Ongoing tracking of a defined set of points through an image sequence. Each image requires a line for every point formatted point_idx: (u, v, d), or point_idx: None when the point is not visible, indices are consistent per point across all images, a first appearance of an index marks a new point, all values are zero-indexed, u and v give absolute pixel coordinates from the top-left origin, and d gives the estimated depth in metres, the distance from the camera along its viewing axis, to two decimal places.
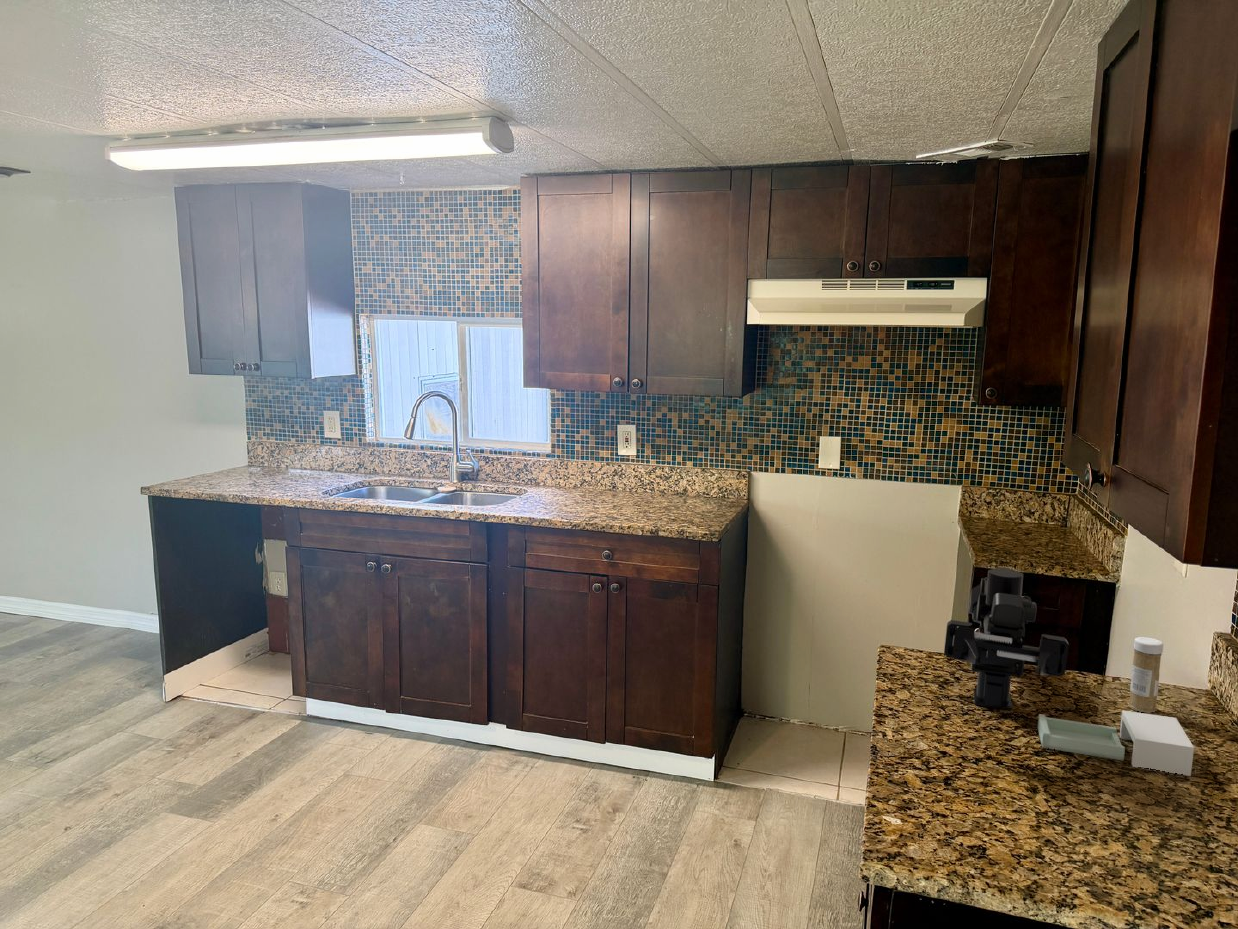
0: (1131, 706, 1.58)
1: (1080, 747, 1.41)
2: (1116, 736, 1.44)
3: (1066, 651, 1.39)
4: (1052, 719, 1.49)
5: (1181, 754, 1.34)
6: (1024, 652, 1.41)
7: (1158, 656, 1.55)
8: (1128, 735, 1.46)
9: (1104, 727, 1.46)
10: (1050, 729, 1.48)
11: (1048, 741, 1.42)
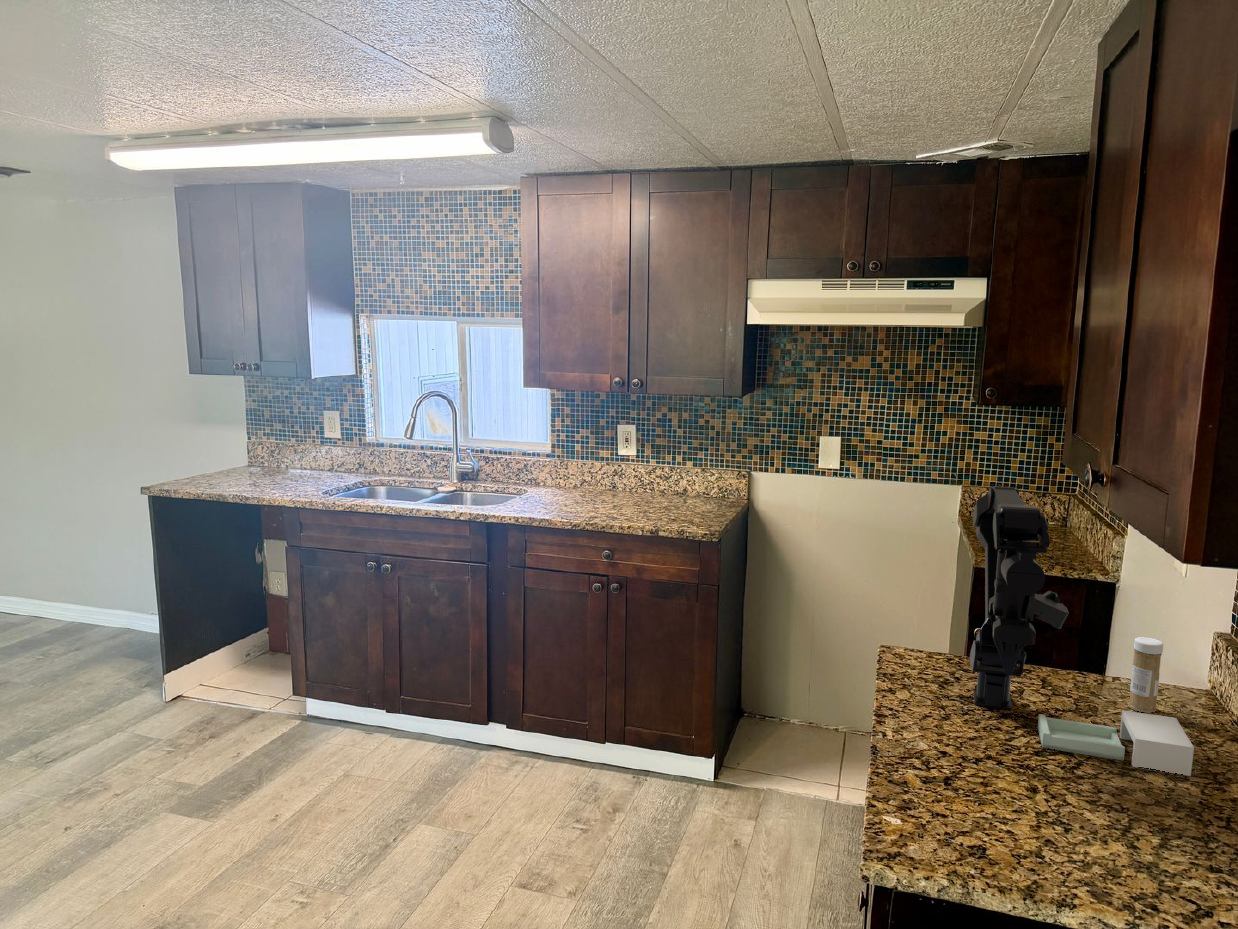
0: (1131, 706, 1.58)
1: (1080, 747, 1.41)
2: (1116, 736, 1.44)
3: None
4: (1052, 719, 1.49)
5: (1181, 754, 1.34)
6: None
7: (1158, 656, 1.55)
8: (1128, 735, 1.46)
9: (1104, 727, 1.46)
10: (1050, 729, 1.48)
11: (1048, 741, 1.42)
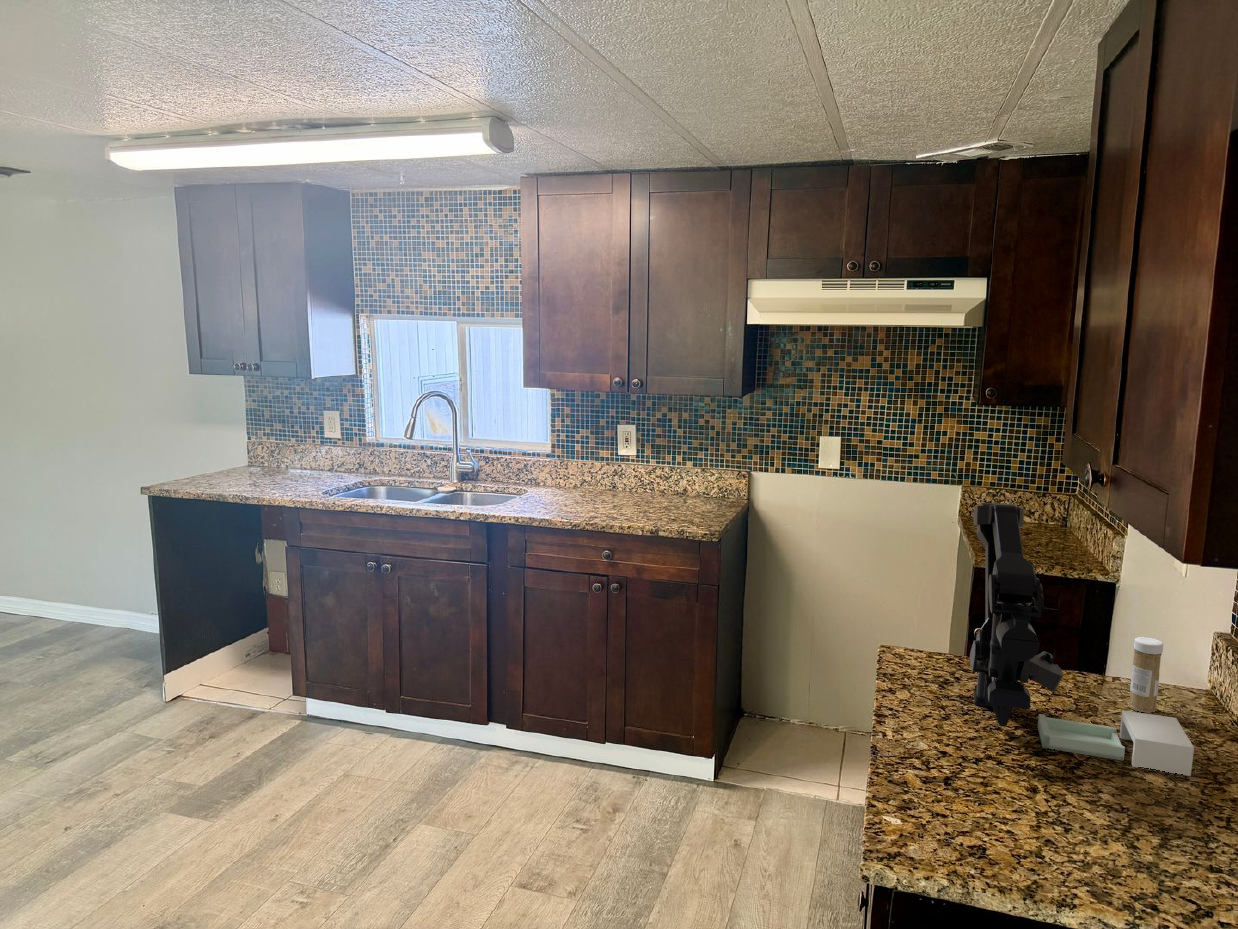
0: (1131, 706, 1.58)
1: (1080, 747, 1.41)
2: (1116, 736, 1.44)
3: None
4: (1052, 719, 1.49)
5: (1181, 754, 1.34)
6: None
7: (1158, 656, 1.55)
8: (1128, 735, 1.46)
9: (1104, 727, 1.46)
10: (1050, 729, 1.48)
11: (1048, 741, 1.42)
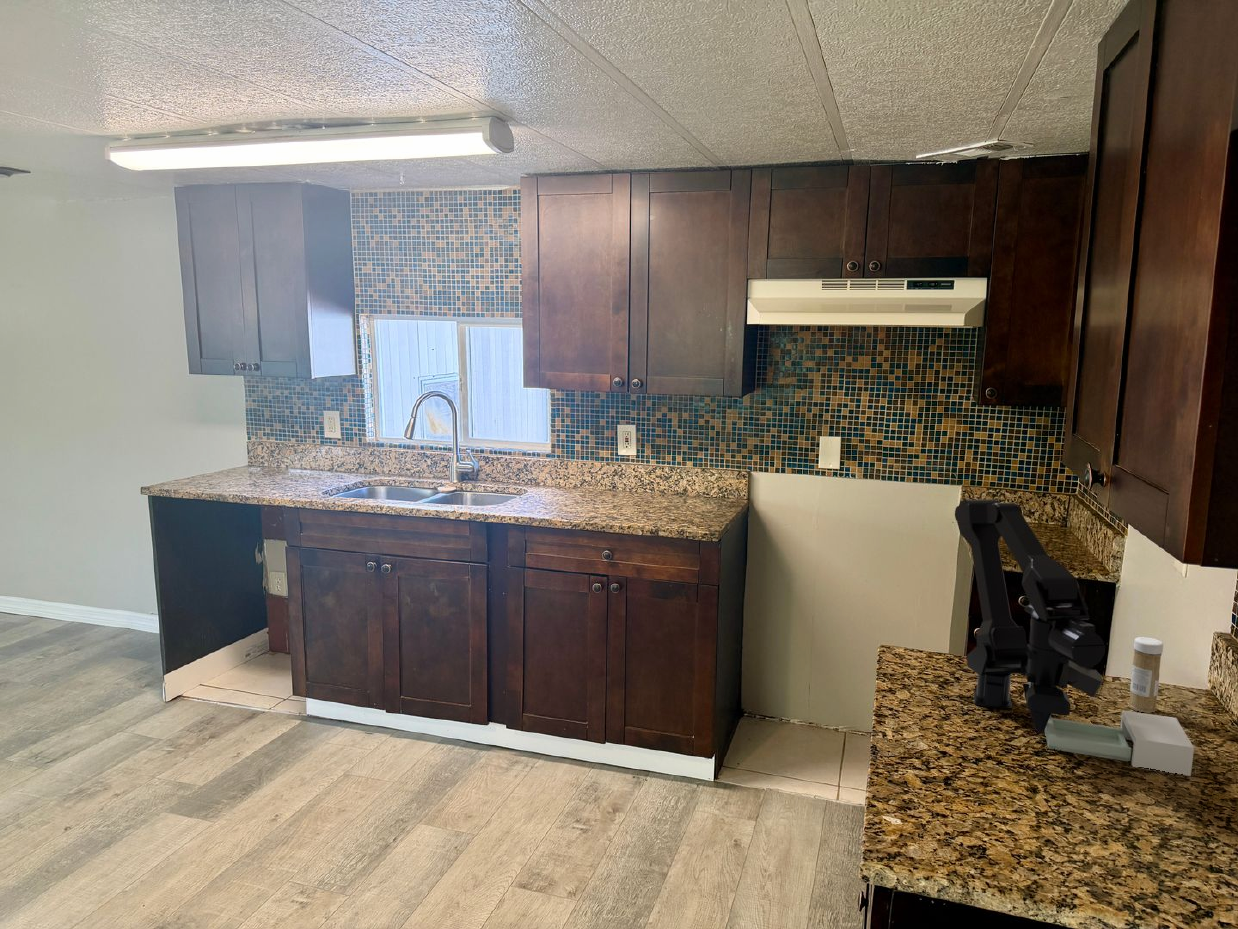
0: (1131, 706, 1.58)
1: (1086, 748, 1.40)
2: (1122, 737, 1.44)
3: None
4: (1058, 720, 1.48)
5: (1181, 754, 1.34)
6: None
7: (1158, 656, 1.55)
8: (1128, 735, 1.46)
9: (1110, 728, 1.46)
10: (1056, 730, 1.48)
11: (1054, 742, 1.42)
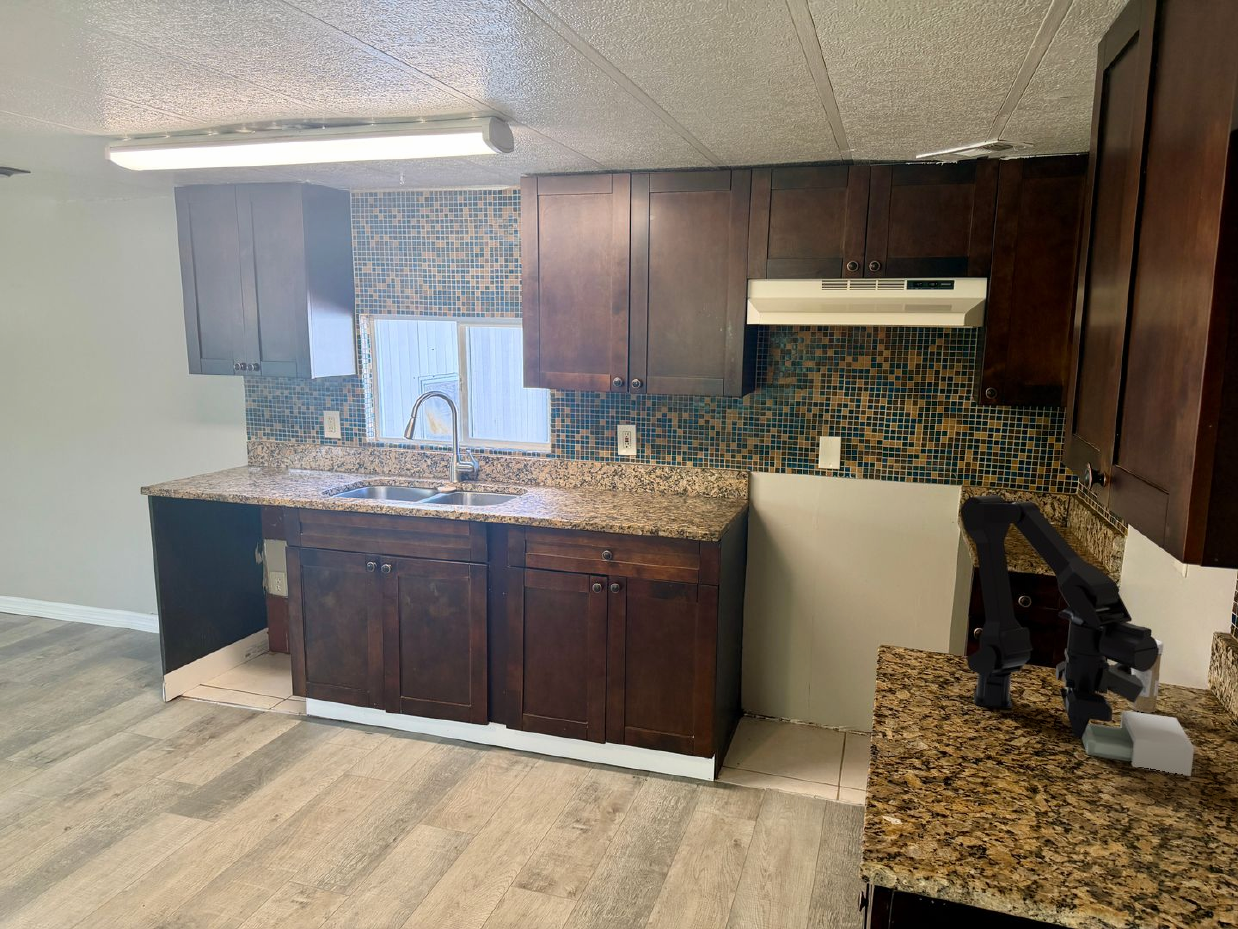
0: (1131, 706, 1.58)
1: (1126, 754, 1.39)
2: None
3: None
4: (1095, 725, 1.47)
5: (1181, 754, 1.34)
6: None
7: (1158, 656, 1.55)
8: None
9: None
10: (1093, 735, 1.46)
11: (1093, 748, 1.40)
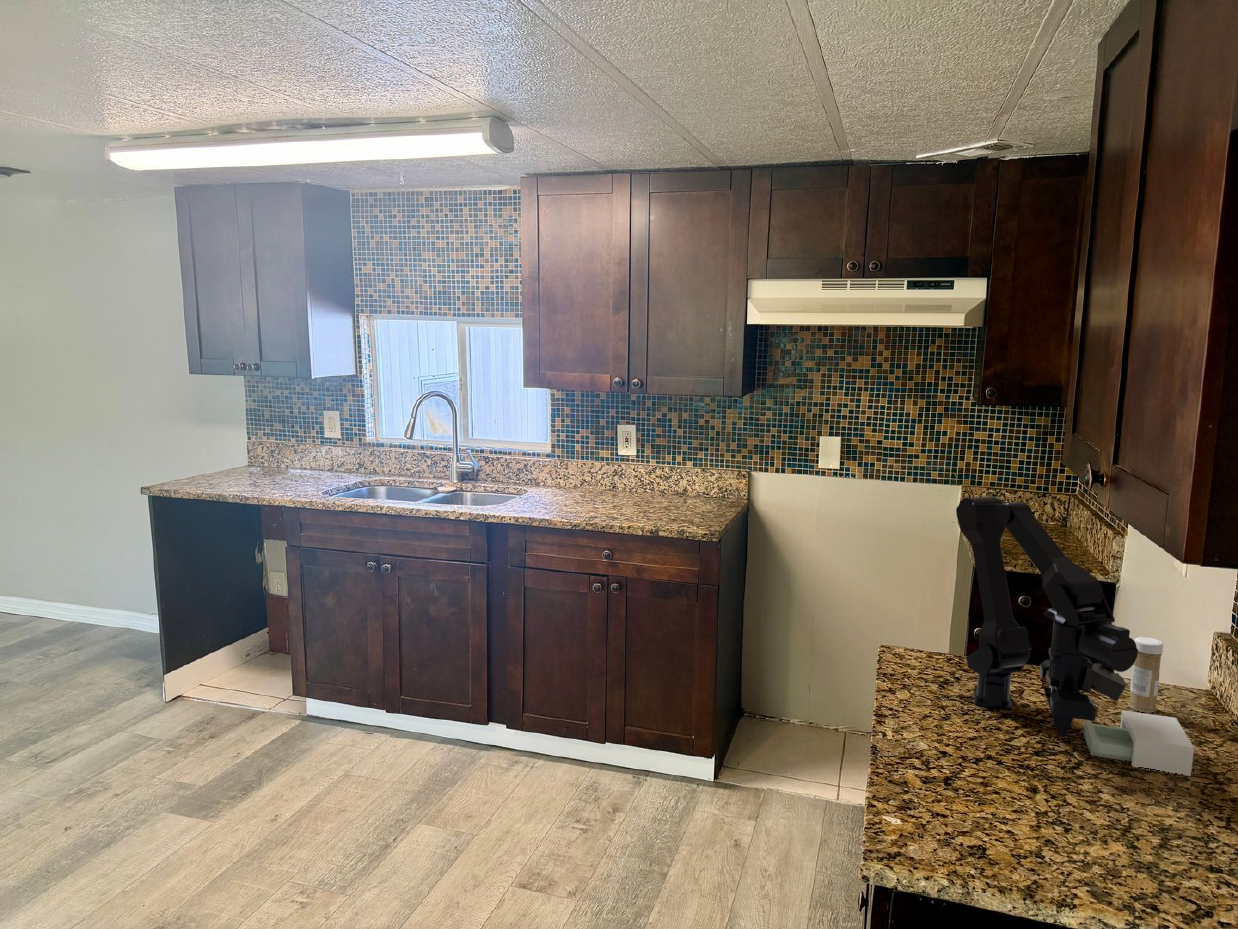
0: (1131, 706, 1.58)
1: (1130, 754, 1.38)
2: None
3: None
4: (1099, 726, 1.46)
5: (1181, 754, 1.34)
6: None
7: (1158, 656, 1.55)
8: None
9: None
10: (1097, 736, 1.46)
11: (1097, 748, 1.40)
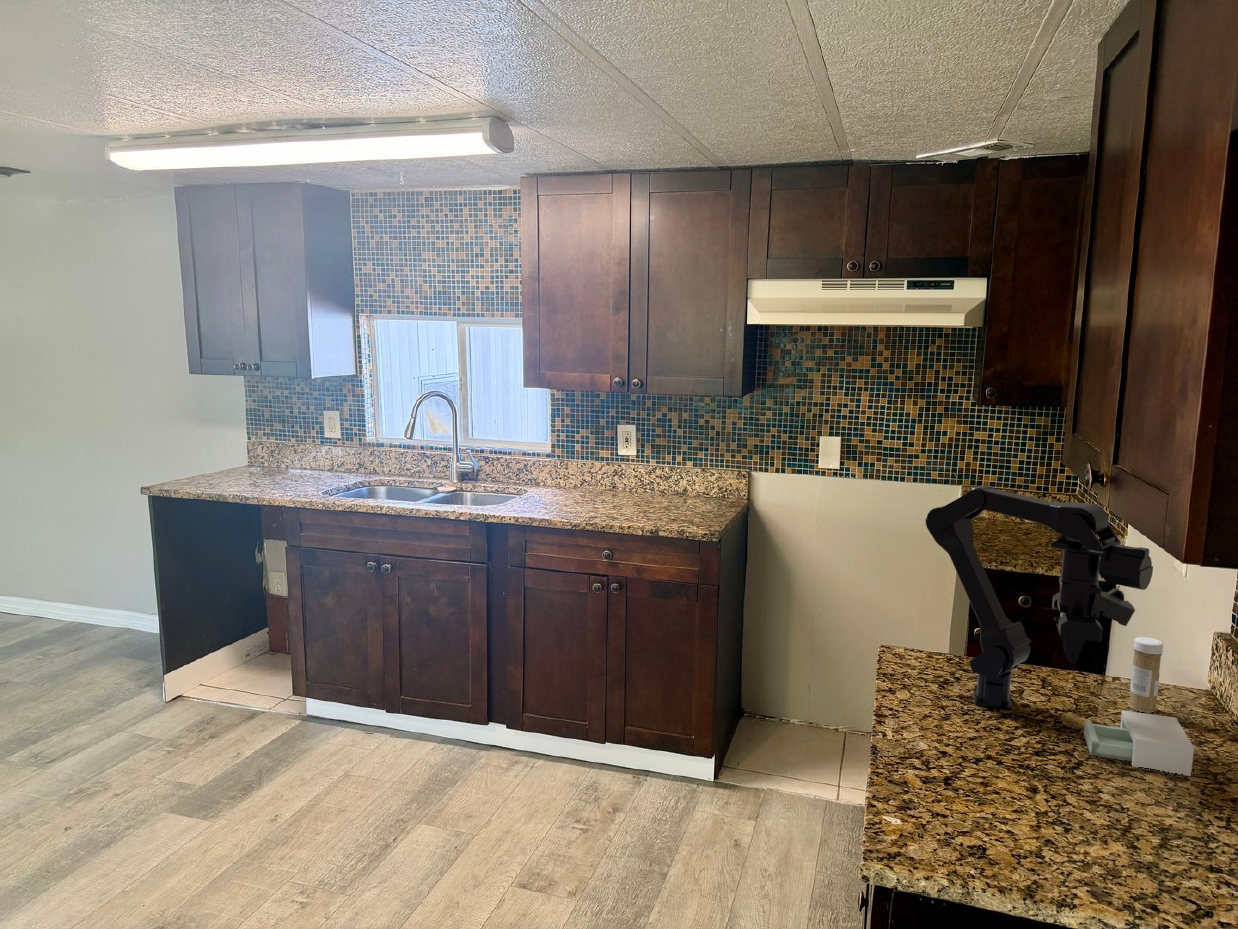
0: (1131, 706, 1.58)
1: (1130, 754, 1.38)
2: None
3: None
4: (1099, 726, 1.46)
5: (1181, 754, 1.34)
6: None
7: (1158, 656, 1.55)
8: None
9: None
10: (1097, 736, 1.46)
11: (1097, 748, 1.40)
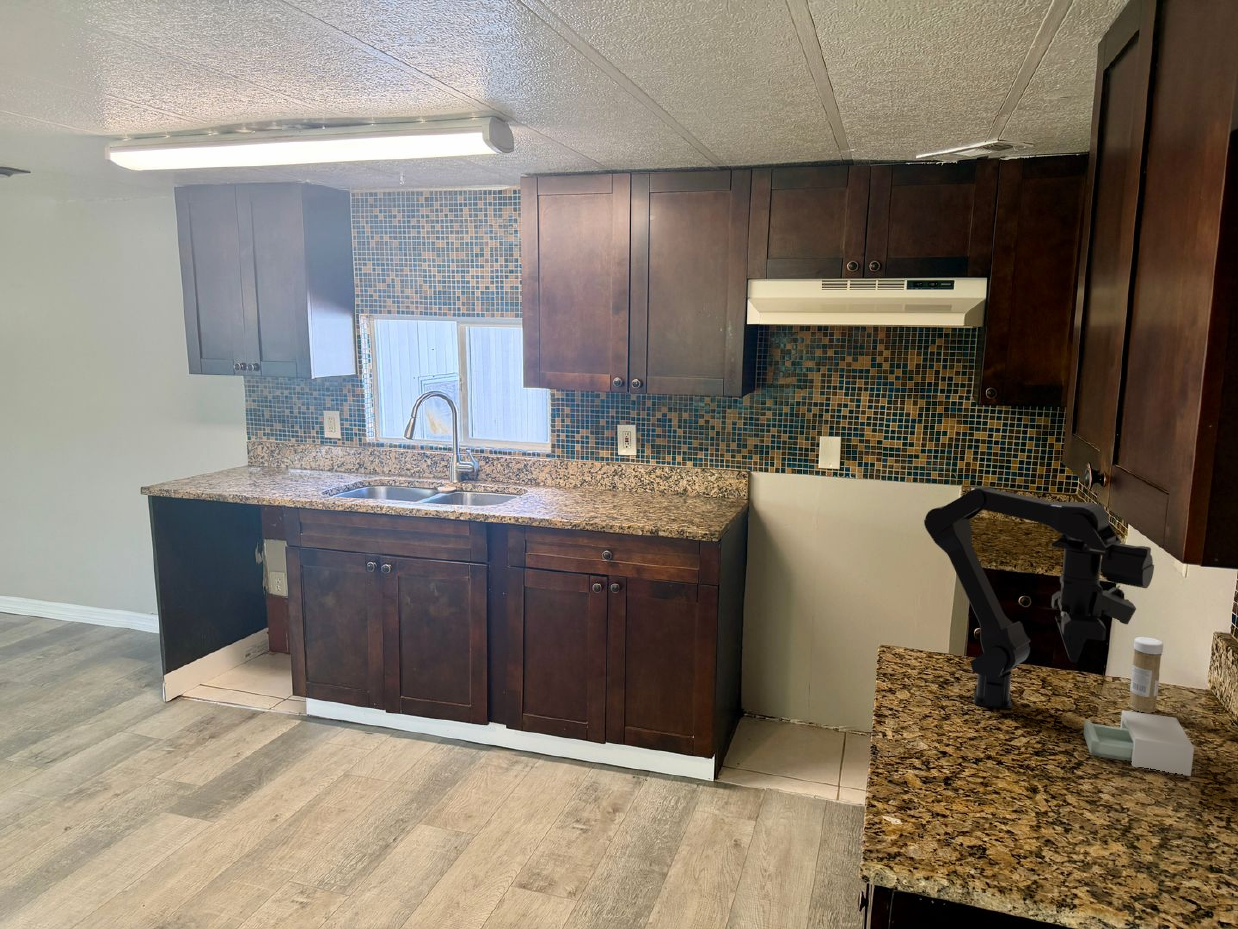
0: (1131, 706, 1.58)
1: (1130, 754, 1.38)
2: None
3: None
4: (1099, 726, 1.46)
5: (1181, 754, 1.34)
6: None
7: (1158, 656, 1.55)
8: None
9: None
10: (1097, 736, 1.46)
11: (1097, 748, 1.40)
